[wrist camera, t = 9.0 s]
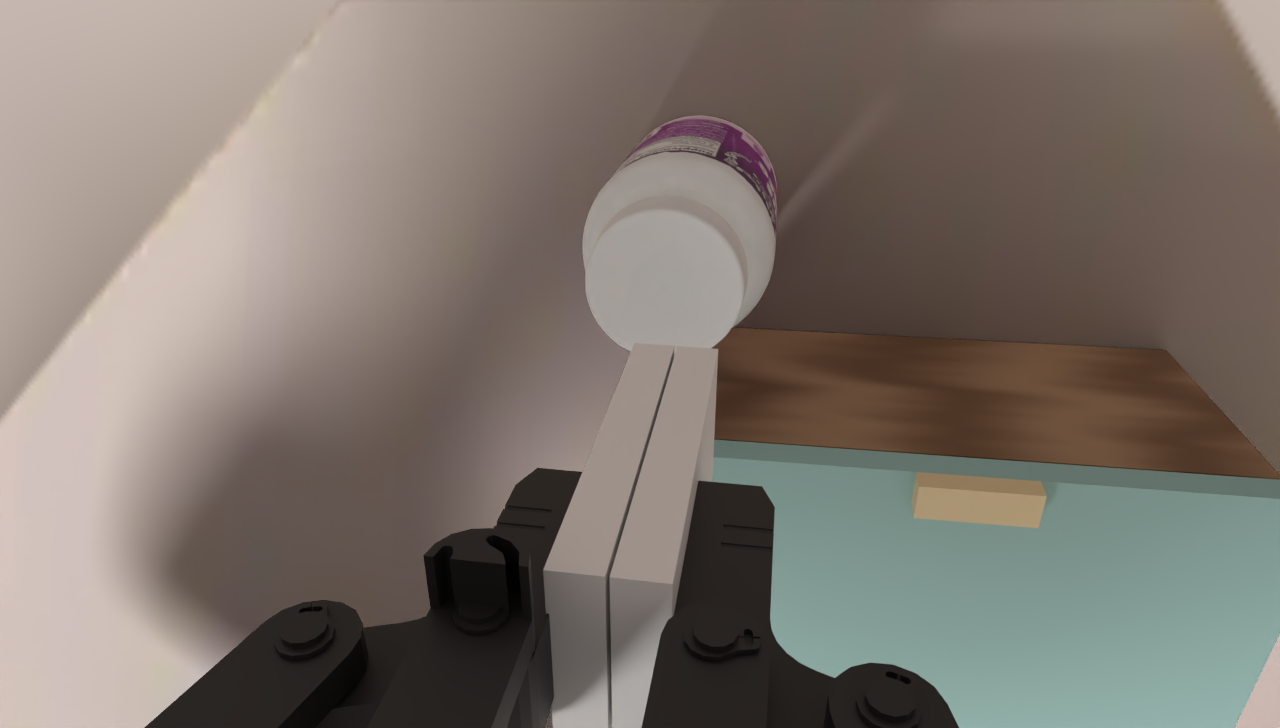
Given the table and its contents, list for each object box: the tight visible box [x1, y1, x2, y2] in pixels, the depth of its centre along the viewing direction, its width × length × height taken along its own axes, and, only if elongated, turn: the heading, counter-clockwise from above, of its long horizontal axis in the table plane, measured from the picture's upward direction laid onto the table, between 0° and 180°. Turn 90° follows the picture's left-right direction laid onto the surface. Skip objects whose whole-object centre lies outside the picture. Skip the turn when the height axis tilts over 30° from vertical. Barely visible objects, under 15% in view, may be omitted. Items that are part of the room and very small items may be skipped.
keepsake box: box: [712, 328, 1280, 480], centre depth 30 cm, size 16×12×8 cm
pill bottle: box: [582, 115, 777, 356], centre depth 26 cm, size 5×5×10 cm
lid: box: [711, 440, 1280, 728], centre depth 25 cm, size 17×13×1 cm
